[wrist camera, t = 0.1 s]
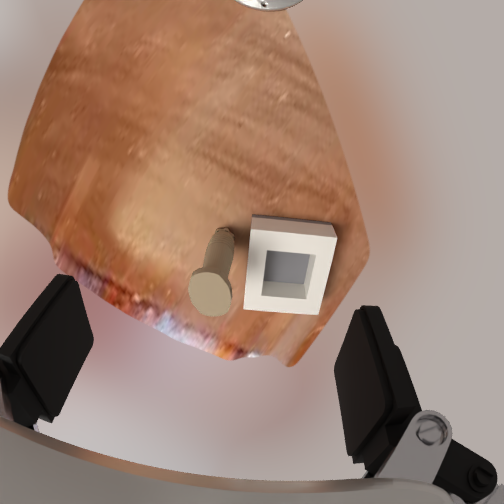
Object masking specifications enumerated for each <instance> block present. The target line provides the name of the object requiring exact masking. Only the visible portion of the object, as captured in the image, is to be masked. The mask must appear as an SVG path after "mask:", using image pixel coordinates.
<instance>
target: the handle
mask: <svg viewBox="0 0 504 504" xmlns="http://www.w3.org/2000/svg"><path fill="white" fill-rule="evenodd" d="M233 256H234V234H233V233H231V232H230V231H229V229H228V228H224V229H220V228H218V229H217V230H216V231H215V234H214V235H213V236H212V238H211V240H210V242H209V244H208V246H207V249H206V253H205V258H204V263H203V268H199V269H197V270H195V271H194V272H193V273H192V276H191V279H190V283H189V287H188V291H189V296H190V299H191V302H192V304H193V305H194V306H195V308H196V309H197V310H198V311H199V312H200V313H201V314H203V315H206V316H221V315H224V314H226V313H227V312H228V310H229V308H230V305H231V300H232V288H231V284H230V282H229V280H228V274H229V271H230V267H231V264H232V260H233Z"/></svg>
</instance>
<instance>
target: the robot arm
mask: <svg viewBox="0 0 504 504" xmlns="http://www.w3.org/2000/svg"><path fill="white" fill-rule="evenodd" d="M235 1H236V2H238V3H239V4H241V5H243V6H246V7H248V8H251V9H255V10H260V11H278V10H284V9H287V8H290V7H293V6H295V5H297V4H298V3H300V2H301V1H303V0H235ZM264 4H265V5H266V7H263V5H264ZM93 341H94V337H93V334H92V330H91V327H90V324H89V321H88V317H87V314H86V310H85V307H84V303H83V299H82V296H81V292H80V288H79V284H78V282H77V281H75V279H74V277H73V276H69V275H63V274H57V275H56V276H55V277H54V278H53V280H52V281H51V282H50V283H49V285H48V286H47V287H46V288H45V290H44V291H43V292H42V293H41V294H40V296H39V297H38V298H37V299H36V301H35V302H34V303H33V304H32V306H31V307H30V308H29V309H28V311H27V312H26V313H25V315H24V316H23V317H22V319H21V320H20V321H19V322H18V324H17V325H16V327H15V328H14V329H13V331H12V332H11V333H10V335H9V336H8V338H7V339H6V340H5V342H4V343H3V345H2V346H1V347H0V504H504V485H503V484H501V485H499V486H498V484H497V472H496V469H495V468H494V466H493V465H492V464H491V463H490V462H489V461H488V460H486V459H484V458H483V457H481V456H479V455H478V454H476V453H474V452H473V451H471V450H469V449H468V448H466V447H464V446H463V445H461V444H459V443H458V442H456V441H454V440H453V439H451V438H452V428H451V425H450V423H449V421H448V420H447V419H446V418H445V417H444V416H443V415H441V414H440V413H438V412H436V411H432V410H431V411H430V410H425V411H422V410H421V407H420V404H419V401H418V398H417V395H416V392H415V389H414V386H413V384H412V381H411V378H410V375H409V372H408V370H407V367H406V364H405V361H404V359H403V357H402V354H401V351H400V349H399V347H398V346H396V345H395V344H394V342H393V339H392V337H391V334H390V332H389V329H388V327H387V324H386V322H385V319H384V317H383V314H382V312H381V309H380V308H379V307H378V306H365V305H363V306H361V307H360V309H359V310H355V311H354V314H353V317H352V320H351V322H350V325H349V328H348V331H347V333H346V336H345V339H344V342H343V344H342V347H341V350H340V352H339V355H338V357H337V360H336V362H335V366H334V374H335V380H336V386H337V392H338V398H339V404H340V410H341V416H342V422H343V429H344V435H345V443H346V450H347V454H348V455H349V456H352V458H353V463H354V464H355V463H364V465H365V470H367V471H366V473H365V474H364V476H363V477H362V478H361V479H346V480H326V481H264V480H246V479H234V478H223V477H213V476H206V475H198V474H191V473H184V472H178V471H172V470H167V469H162V468H156V467H151V466H147V465H142V464H137V463H134V462H130V461H126V460H122V459H118V458H114V457H110V456H107V455H103V454H100V453H96V452H93V451H90V450H87V449H83V448H80V447H77V446H74V445H71V444H69V443H66V442H63V441H60V440H57V439H55V438H52V437H49V436H47V435H44V434H42V433H39V429H38V426H37V420H38V418H40V419H42V420H44V421H47V422H50V423H52V422H53V420H54V417H56V416H58V415H59V413H60V412H61V409H62V407H63V405H64V403H65V401H66V399H67V396H68V394H69V392H70V390H71V388H72V386H73V384H74V382H75V380H76V378H77V375H78V373H79V371H80V369H81V367H82V365H83V363H84V361H85V359H86V357H87V355H88V353H89V351H90V350H91V348H92V346H93Z"/></svg>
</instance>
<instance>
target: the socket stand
mask: <svg viewBox="0 0 504 504" xmlns="http://www.w3.org/2000/svg"><path fill="white" fill-rule="evenodd" d="M336 242H337V236H336V233H335V231H334V228H333V226H332V224H331V223H330V222H321V221H312V220H303V219H293V218H284V217H274V216H264V215H253V214H252V222H251V233H250V243H249V254H248V265H247V276H246V287H245V298H244V309H247V310H259V311H270V312H283V313H297V314H312V315H318V313H319V309H320V306H321V302H322V298H323V294H324V291H325V287H326V283H327V279H328V275H329V271H330V267H331V263H332V259H333V255H334V250H335V246H336Z"/></svg>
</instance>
